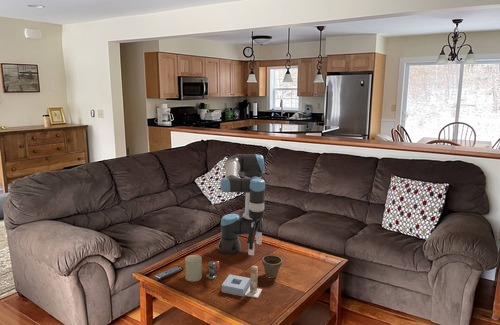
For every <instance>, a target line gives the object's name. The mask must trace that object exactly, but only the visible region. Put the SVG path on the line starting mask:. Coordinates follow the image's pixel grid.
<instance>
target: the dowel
mask: <svg viewBox="0 0 500 325" xmlns="http://www.w3.org/2000/svg"><path fill="white" fill-rule="evenodd" d="M258 270H259V268H258V266H257V265H251V266H250V277H249V278H250V286H249V287H250V293H252V294H255V293H257V288H258V276H259V275H258Z"/></svg>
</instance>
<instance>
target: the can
mask: <svg viewBox="0 0 500 325" xmlns="http://www.w3.org/2000/svg"><path fill="white" fill-rule="evenodd" d="M184 261H185V263H184V264H185V267H184V269H185V270H184V272H185V277H184V278H185V280H186V281H189V282H198V281H200V280H201V279H202V277H203V275H202V256H201V255H199V254H190V255H187V256H186V257H185V258H184Z"/></svg>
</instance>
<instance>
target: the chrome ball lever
mask: <svg viewBox="0 0 500 325" xmlns="http://www.w3.org/2000/svg"><path fill="white" fill-rule="evenodd" d="M207 268H213V269H214V272H219V270H220V261H219V260H216V261H214V260H211V261H208V262H207Z"/></svg>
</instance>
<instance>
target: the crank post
mask: <svg viewBox="0 0 500 325" xmlns="http://www.w3.org/2000/svg"><path fill="white" fill-rule="evenodd" d="M208 268H209V267H208ZM208 270H209V272H208V273H207V274H206V276H205V277H206V279H209V280H215V279H217V278H218V275H217V273H216V272H215V270H214V269H213V268H209V269H208Z"/></svg>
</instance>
